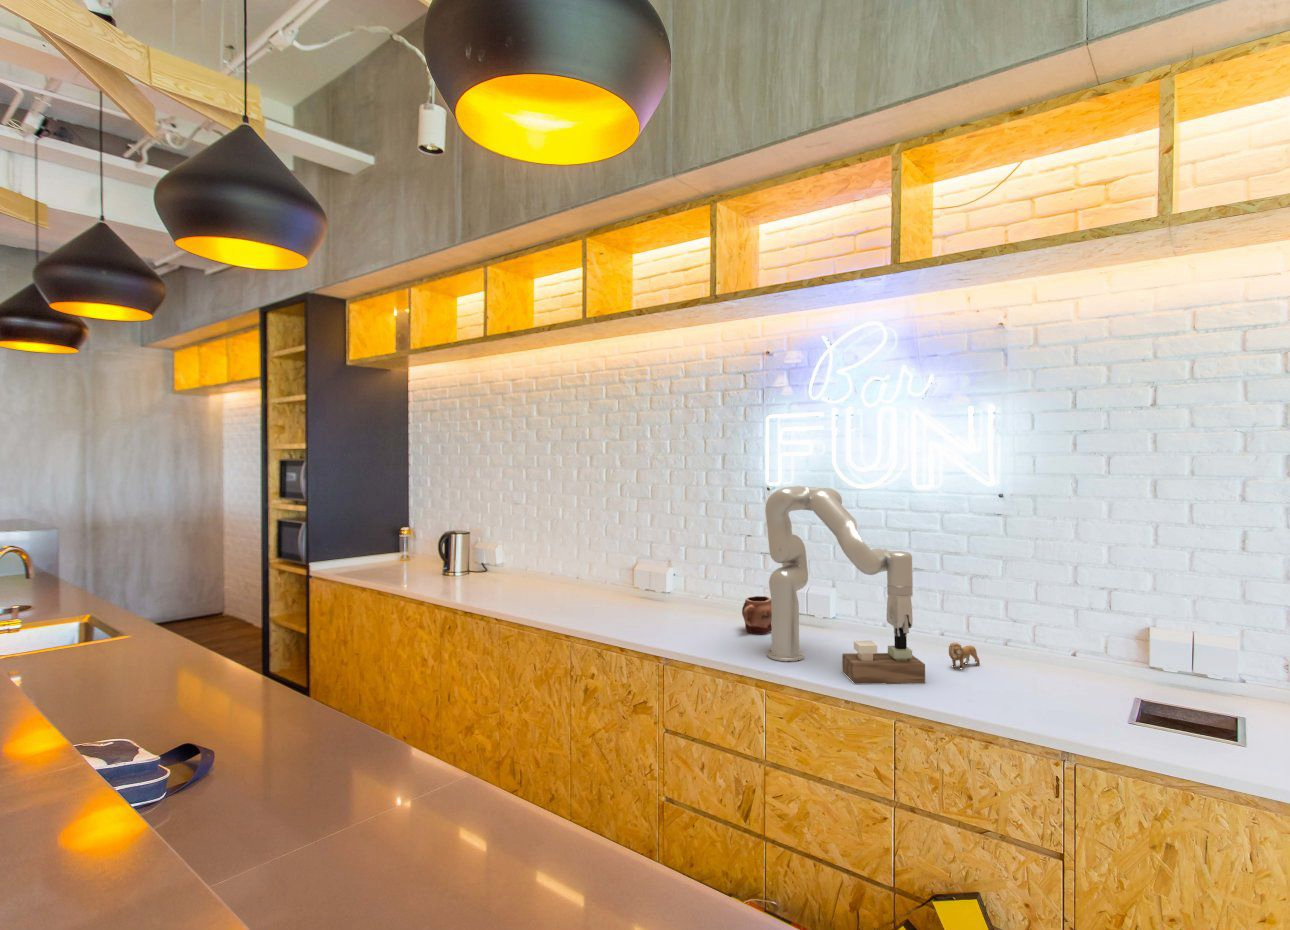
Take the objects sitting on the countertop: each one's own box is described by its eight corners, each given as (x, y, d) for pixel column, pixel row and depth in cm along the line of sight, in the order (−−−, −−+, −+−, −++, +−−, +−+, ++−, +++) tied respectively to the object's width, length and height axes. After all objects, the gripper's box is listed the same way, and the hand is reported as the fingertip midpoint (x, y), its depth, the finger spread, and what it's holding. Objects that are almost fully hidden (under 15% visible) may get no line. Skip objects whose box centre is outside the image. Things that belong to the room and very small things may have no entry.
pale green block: (887, 667, 214) (887, 645, 214) (905, 667, 214) (905, 645, 214) (894, 672, 208) (894, 650, 208) (912, 672, 209) (912, 650, 208)
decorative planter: (760, 640, 255) (760, 604, 255) (732, 635, 262) (732, 600, 262) (781, 629, 272) (781, 595, 272) (754, 625, 279) (754, 592, 279)
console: (842, 671, 217) (842, 653, 217) (909, 671, 217) (909, 653, 217) (854, 684, 205) (854, 664, 205) (925, 683, 205) (925, 664, 205)
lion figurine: (959, 673, 216) (959, 645, 216) (944, 668, 220) (944, 641, 220) (983, 664, 224) (983, 638, 224) (968, 661, 228) (968, 634, 228)
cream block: (853, 662, 214) (853, 640, 214) (871, 662, 214) (871, 640, 214) (859, 667, 208) (859, 645, 208) (877, 667, 208) (877, 645, 208)
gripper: (879, 586, 219) (880, 642, 219) (897, 595, 204) (897, 655, 204) (902, 586, 219) (903, 641, 219) (921, 594, 204) (922, 654, 204)
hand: (900, 648), depth 211 cm, fingers closed
